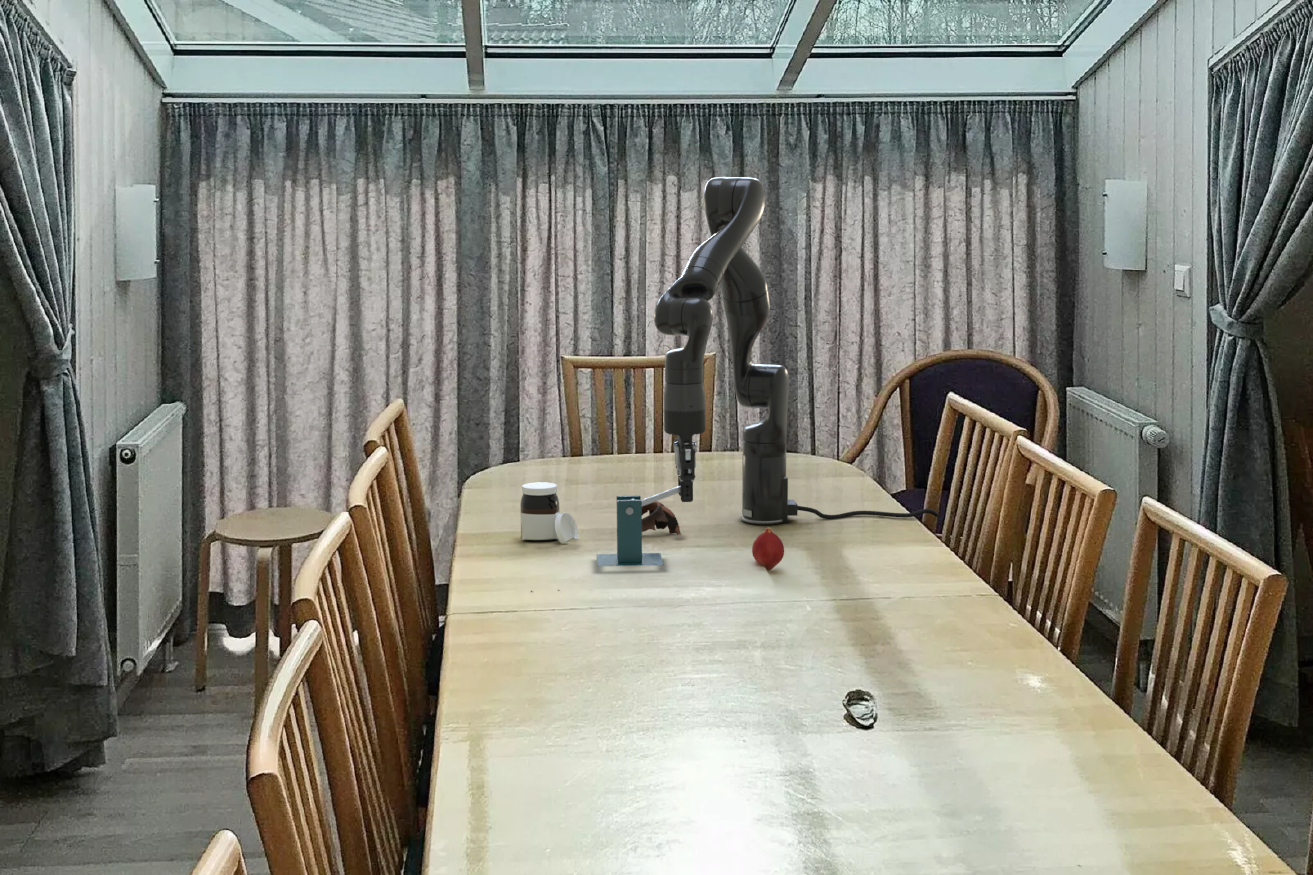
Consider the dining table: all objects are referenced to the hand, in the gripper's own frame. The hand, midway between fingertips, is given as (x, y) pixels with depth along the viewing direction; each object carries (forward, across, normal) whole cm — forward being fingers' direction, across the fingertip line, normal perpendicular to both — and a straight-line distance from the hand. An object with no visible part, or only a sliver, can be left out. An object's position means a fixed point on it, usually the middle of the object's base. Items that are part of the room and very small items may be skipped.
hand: (685, 498), depth 254 cm
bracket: (+13, 0, +10) cm, 16 cm away
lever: (+1, 0, +5) cm, 5 cm away
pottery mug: (+13, +24, +4) cm, 27 cm away
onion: (+13, -5, -14) cm, 20 cm away
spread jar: (+13, +19, +26) cm, 34 cm away
